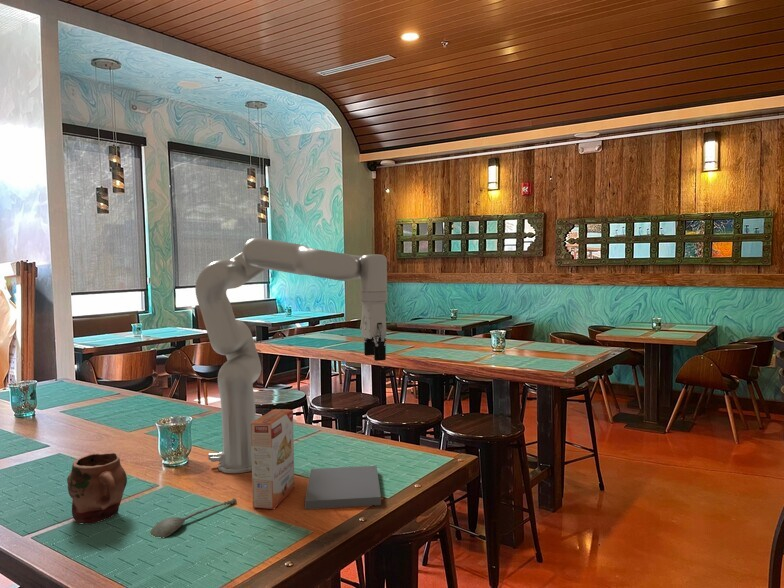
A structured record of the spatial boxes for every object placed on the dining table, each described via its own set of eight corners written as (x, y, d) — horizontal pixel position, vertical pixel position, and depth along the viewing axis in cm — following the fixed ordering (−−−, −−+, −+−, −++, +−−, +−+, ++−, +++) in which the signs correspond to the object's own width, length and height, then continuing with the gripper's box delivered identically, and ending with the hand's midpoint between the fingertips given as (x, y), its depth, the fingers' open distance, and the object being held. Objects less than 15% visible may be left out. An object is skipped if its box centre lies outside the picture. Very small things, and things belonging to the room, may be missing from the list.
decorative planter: (146, 519, 136) (143, 460, 136) (92, 539, 127) (89, 475, 126) (105, 499, 149) (102, 445, 148) (54, 516, 139) (50, 458, 139)
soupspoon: (143, 538, 129) (159, 547, 125) (142, 523, 129) (158, 532, 125) (227, 500, 146) (244, 508, 142) (226, 487, 146) (243, 495, 142)
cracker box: (275, 510, 139) (272, 423, 138) (251, 509, 140) (248, 422, 139) (296, 488, 153) (293, 408, 152) (275, 486, 154) (272, 408, 153)
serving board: (305, 509, 139) (304, 501, 139) (311, 476, 161) (310, 468, 161) (381, 505, 140) (380, 496, 140) (376, 472, 162) (376, 465, 162)
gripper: (353, 296, 174) (354, 354, 175) (370, 300, 157) (370, 363, 158) (377, 296, 176) (378, 352, 177) (396, 299, 160) (397, 361, 161)
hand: (374, 357), depth 168 cm, fingers open, 9 cm apart
